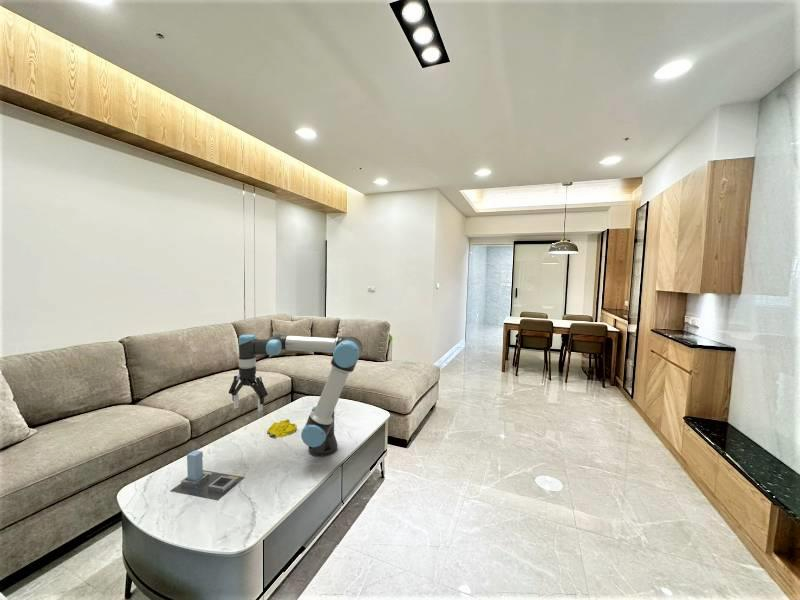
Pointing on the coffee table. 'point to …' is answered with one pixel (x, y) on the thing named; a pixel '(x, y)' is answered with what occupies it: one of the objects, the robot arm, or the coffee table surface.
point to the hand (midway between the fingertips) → (248, 409)
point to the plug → (195, 465)
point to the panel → (208, 485)
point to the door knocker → (282, 428)
